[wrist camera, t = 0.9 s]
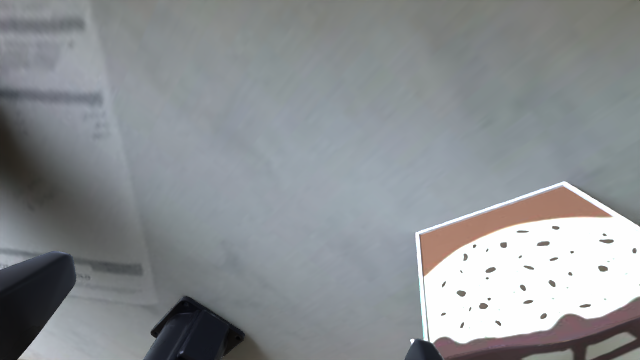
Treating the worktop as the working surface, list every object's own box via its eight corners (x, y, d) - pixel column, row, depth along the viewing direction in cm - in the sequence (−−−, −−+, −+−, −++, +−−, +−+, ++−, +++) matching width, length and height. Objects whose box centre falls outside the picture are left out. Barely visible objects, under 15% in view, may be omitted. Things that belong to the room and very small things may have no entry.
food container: (426, 299, 25) (462, 456, 16) (394, 239, 23) (416, 382, 14) (609, 248, 21) (788, 415, 12) (592, 171, 19) (794, 305, 10)
